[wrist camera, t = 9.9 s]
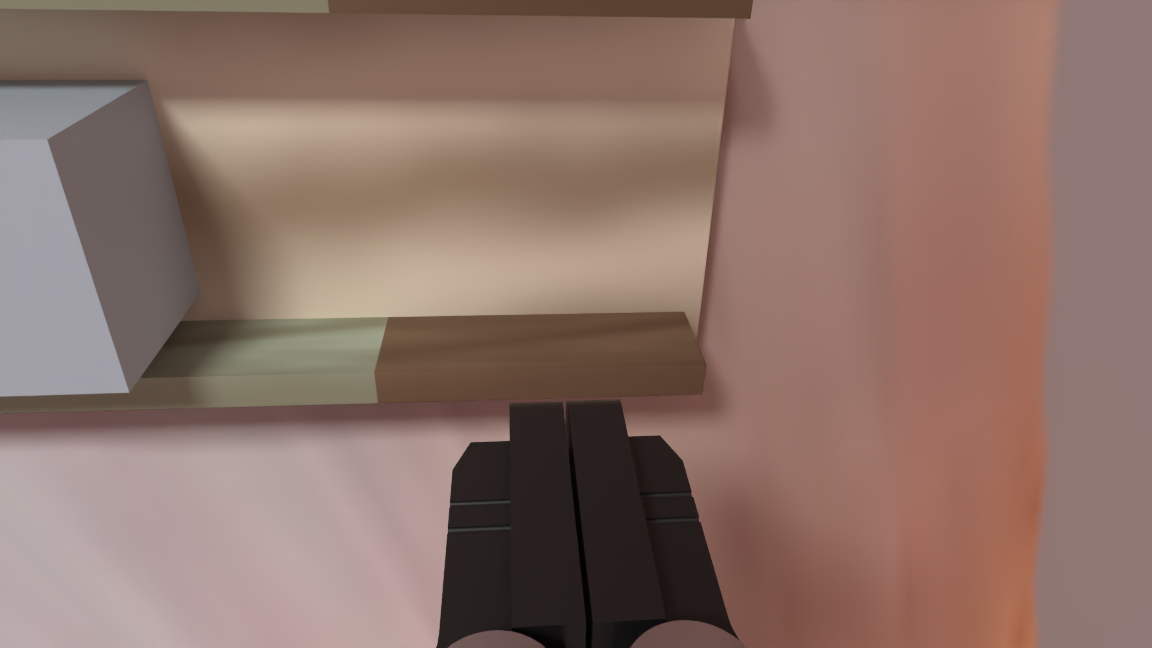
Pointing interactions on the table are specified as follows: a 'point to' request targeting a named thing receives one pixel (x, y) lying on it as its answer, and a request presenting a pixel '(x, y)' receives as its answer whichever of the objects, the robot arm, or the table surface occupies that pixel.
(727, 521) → the table surface
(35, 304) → the slate block
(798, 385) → the table surface
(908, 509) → the table surface
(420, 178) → the track
